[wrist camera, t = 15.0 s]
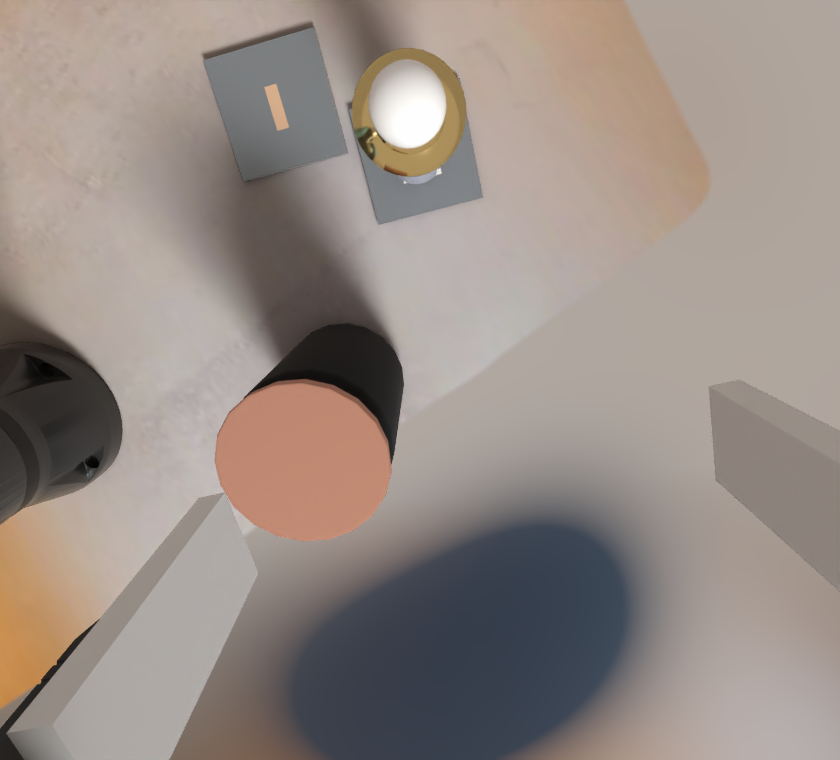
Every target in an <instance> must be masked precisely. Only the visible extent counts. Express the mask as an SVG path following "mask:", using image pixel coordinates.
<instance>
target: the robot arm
mask: <svg viewBox="0 0 840 760" xmlns="http://www.w3.org/2000/svg"><path fill="white" fill-rule="evenodd" d="M709 396H710V409H711V424H712V436H713V450H714V464H715V476H716V481H717V482H718V483H719V484H720V485H722V486H723V487H724V488H725V489H726V490H727V491H728V492H729V493H730V494H732V495H733V496H734V497H735V498H736V499H737V500H738V501H739V502H741V504H743V505H744V506H745V507H746V508H747V509H748V510H749V511H750V512H752V513H753V514H754V515H755V516H756V517H757V518H758V519H759V520H760V521H761V522H763V523H764V524H765V525H766V526H767V527H768V528H769V529H771V530H772V531H773V532H774V533H775V534H776V535H777V536H778V537H779V538H780V539H781V540H783V541H784V542H785V543H786V544H787V545H788V546H789V547H790V548H791V549H793V550H794V551H795V552H796V553H797V554H798V555H799V556H800V557H802V558H803V559H804V560H805V561H806V562H807V563H808V564H809V565H810V566H811V567H813V568H814V569H815V570H816V571H817V572H818V573H819V574H820V575H822V576H823V577H824V578H825V579H826V580H827V581H828V582H829V583H830V584H831V585H833V586H834V587H835V588H836V589H837V590H838V591H839V592H840V431H839V430H837V429H835V428H833V427H831V426H830V425H828V424H826V423H824V422H822V421H820V420H818V419H816V418H814V417H812V416H810V415H808V414H806V413H804V412H802V411H800V410H798V409H796V408H794V407H792V406H790V405H788V404H786V403H784V402H782V401H780V400H778V399H777V398H775V397H773V396H771V395H769V394H767V393H765V392H763V391H761V390H759V389H757V388H755V387H753V386H751V385H749V384H747V383H745V382H743V381H741V380H736V381H731V382H727V383H722V384H718V385H713V386H709ZM121 440H122V422H121V417H120V413H119V410H118V407H117V404H116V402H115V400H114V398H113V396H112V394H111V392H110V391H109V389H108V388H107V386H106V385H105V384H104V382H103V381H102V380H101V379H100V378H99V376H98V375H97V374H96V373H95V372H94V371H93V370H91V369H90V368H89V367H88V366H87V365H86V364H84V363H83V362H81V361H80V360H79V359H77V358H75V357H74V356H72V355H70V354H68V353H66V352H64V351H62V350H59V349H57V348H54V347H51V346H47V345H43V344H37V343H13V344H8V345H4V346H1V347H0V525H1V524H2V523H3V522H5V521H6V520H7V519H9V518H10V517H12V516H13V515H14V514H16V513H17V512H19V511H20V510H21V509H23V508H25V507H29V506H32V505H35V504H38V503H42V502H45V501H48V500H51V499H55V498H58V497H61V496H64V495H68V494H71V493H73V492H76V491H78V490H80V489H82V488H83V487H85V486H87V485H88V484H90V483H91V482H92V481H94V480H95V479H96V478H97V477H99V476H100V475H101V474H103V473H104V472H105V471H106V470H107V469H108V468H109V467H110V466H111V464H112V463H113V462H114V460H115V458H116V456H117V454H118V452H119V449H120V445H121ZM257 575H258V571H257V569H256V566H255V564H254V562H253V559H252V557H251V554H250V552H249V550H248V547H247V545H246V542H245V540H244V537H243V535H242V533H241V530H240V528H239V525H238V523H237V521H236V518H235V516H234V513H233V511H232V509H231V506H230V504H229V501H228V499H227V497H226V494H225V493H220V494H216V495H211V496H207V497H202V498H199V499H198V500H197V501H196V502H195V504H194V505H193V506H192V507H191V509H190V510H189V511H188V512H187V513H186V515H185V516H184V517H183V518H182V520H181V521H180V522H179V523H178V524H177V526H176V527H175V528H174V529H173V531H172V532H171V533H170V534H169V535H168V537H167V538H166V539H165V540H164V542H163V543H162V544H161V545H160V546H159V548H158V549H157V550H156V551H155V553H154V554H153V555H152V556H151V557H150V559H149V560H148V561H147V562H146V563H145V565H144V566H143V567H142V568H141V570H140V571H139V572H138V573H137V574H136V576H135V577H134V578H133V579H132V581H131V582H130V583H129V584H128V585H127V587H126V588H125V589H124V590H123V592H122V593H121V594H120V595H119V596H118V598H117V599H116V600H115V601H114V603H113V604H112V605H111V606H110V607H109V609H108V610H107V611H106V612H105V613H104V615H103V616H102V617H101V618H100V619H99V620H97V621H96V622H95V623H94V624H93V625H92V626H90V627H89V628H88V629H87V630H86V631H84V632H83V633H82V634H81V635H80V636H78V637H77V638H76V639H75V640H74V641H73V643H72V644H71V645H70V646H69V647H68V648H67V650H66V651H65V652H64V653H63V654H62V656H61V657H60V658H59V659H58V660H57V665H54V666H52V668H51V669H50V670H49V671H48V672H47V673H46V675H45V676H44V677H43V678H42V679H41V684H38V685H36V687H35V688H34V689H33V690H32V691H31V693H30V694H29V695H28V696H27V697H26V699H25V700H24V701H23V702H22V704H21V705H20V706H19V707H18V708H17V709H16V710H15V712H14V713H13V714H12V715H11V716H10V718H9V719H8V720H7V721H6V722H5V724H4V725H3V726H2V727H1V728H0V760H169V759H170V757H171V755H172V753H173V750H174V749H175V747H176V745H177V742H178V740H179V738H180V736H181V734H182V732H183V730H184V728H185V726H186V724H187V721H188V719H189V717H190V715H191V713H192V711H193V709H194V707H195V704H196V703H197V701H198V698H199V696H200V694H201V692H202V690H203V688H204V686H205V684H206V682H207V680H208V677H209V675H210V673H211V671H212V669H213V667H214V665H215V663H216V661H217V658H218V656H219V655H220V652H221V650H222V648H223V646H224V644H225V642H226V640H227V638H228V636H229V634H230V631H231V629H232V627H233V625H234V623H235V621H236V619H237V617H238V615H239V613H240V610H241V608H242V606H243V604H244V602H245V600H246V598H247V596H248V593H249V591H250V590H251V587H252V585H253V583H254V581H255V579H256V577H257Z"/></svg>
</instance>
